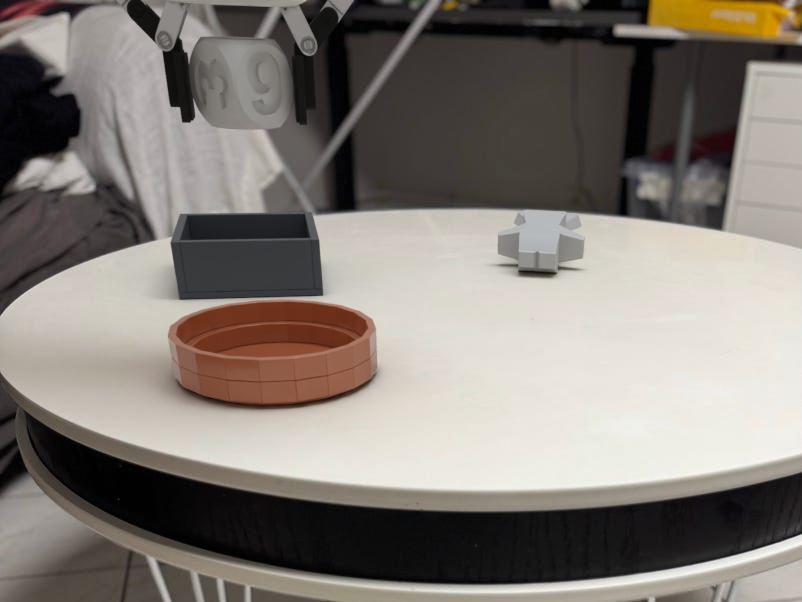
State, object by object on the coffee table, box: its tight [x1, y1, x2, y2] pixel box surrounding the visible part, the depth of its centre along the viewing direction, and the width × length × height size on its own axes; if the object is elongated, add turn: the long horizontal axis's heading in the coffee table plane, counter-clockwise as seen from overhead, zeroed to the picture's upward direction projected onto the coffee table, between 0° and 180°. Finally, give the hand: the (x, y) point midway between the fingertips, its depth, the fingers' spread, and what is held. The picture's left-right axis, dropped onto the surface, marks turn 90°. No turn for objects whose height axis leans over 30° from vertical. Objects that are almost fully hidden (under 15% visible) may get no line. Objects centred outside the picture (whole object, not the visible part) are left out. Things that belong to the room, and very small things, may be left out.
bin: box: [170, 211, 324, 300], centre depth 92 cm, size 14×14×5 cm
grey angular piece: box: [497, 209, 586, 274], centre depth 101 cm, size 10×5×15 cm
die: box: [189, 36, 294, 131], centre depth 61 cm, size 5×5×5 cm
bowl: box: [167, 299, 379, 406], centre depth 69 cm, size 15×15×4 cm
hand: (245, 119), depth 62 cm, fingers closed on die, 7 cm apart
